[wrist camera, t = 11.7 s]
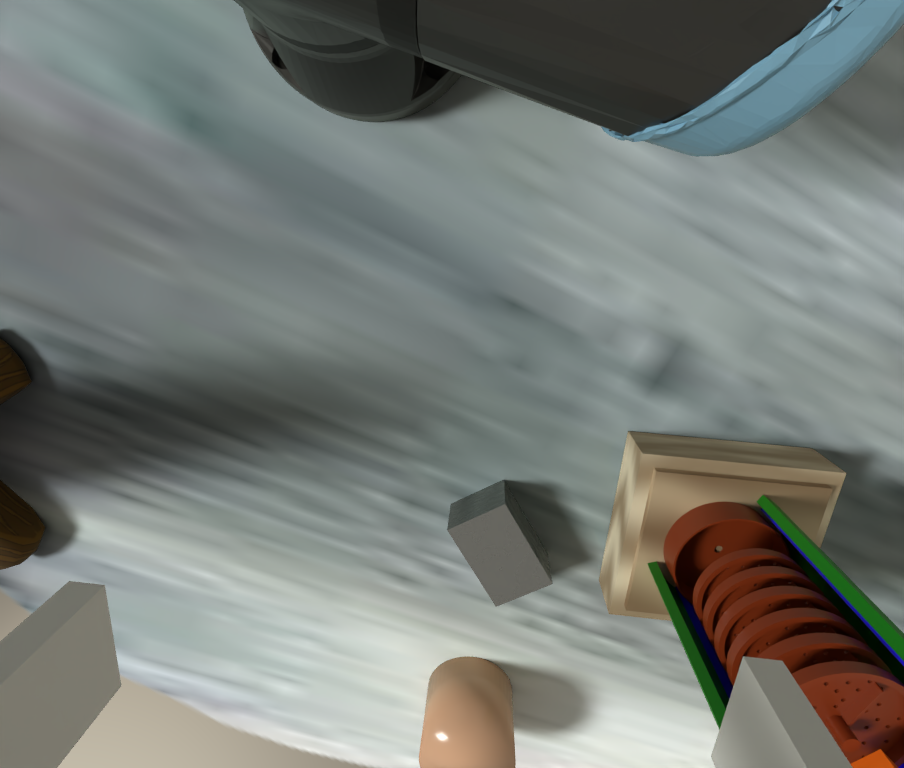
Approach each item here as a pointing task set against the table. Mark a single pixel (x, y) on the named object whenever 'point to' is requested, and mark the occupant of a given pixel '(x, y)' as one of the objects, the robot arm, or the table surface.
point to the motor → (785, 623)
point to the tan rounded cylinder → (468, 717)
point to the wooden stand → (3, 512)
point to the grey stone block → (499, 543)
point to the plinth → (701, 503)
